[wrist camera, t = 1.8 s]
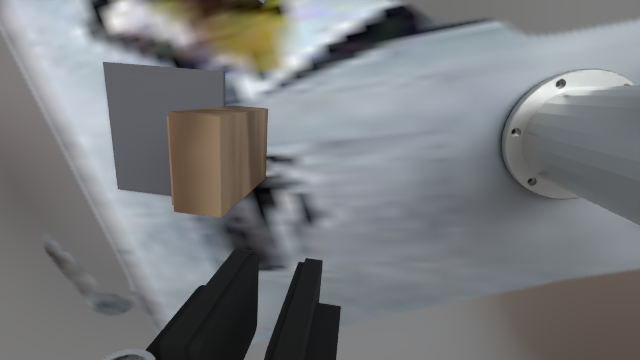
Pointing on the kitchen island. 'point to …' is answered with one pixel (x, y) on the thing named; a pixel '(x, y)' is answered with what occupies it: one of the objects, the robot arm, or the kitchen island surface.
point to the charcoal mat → (152, 117)
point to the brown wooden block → (215, 157)
